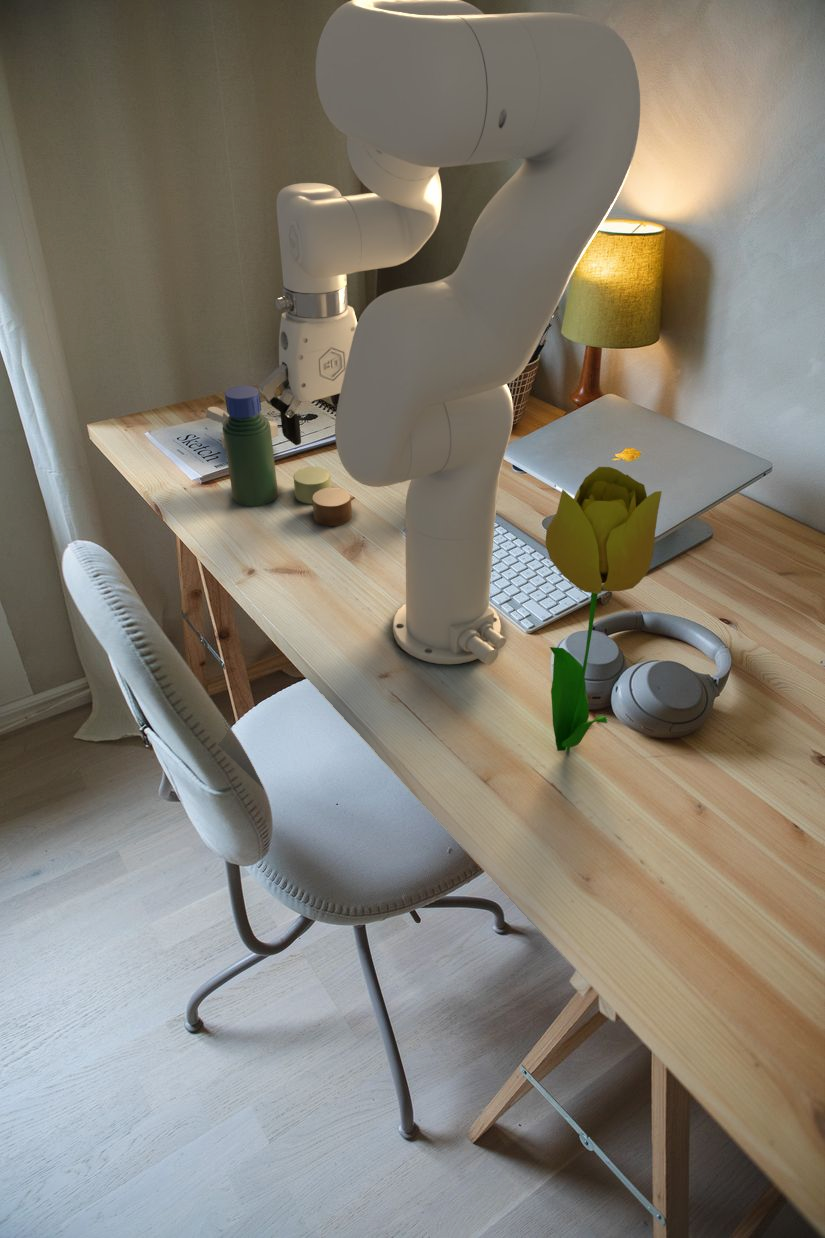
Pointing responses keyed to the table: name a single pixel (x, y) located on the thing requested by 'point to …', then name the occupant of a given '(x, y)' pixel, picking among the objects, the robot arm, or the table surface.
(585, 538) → the flower
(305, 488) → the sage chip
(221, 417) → the bunny figurine
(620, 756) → the table surface
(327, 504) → the brown wooden puck
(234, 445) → the bottle
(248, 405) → the cap
